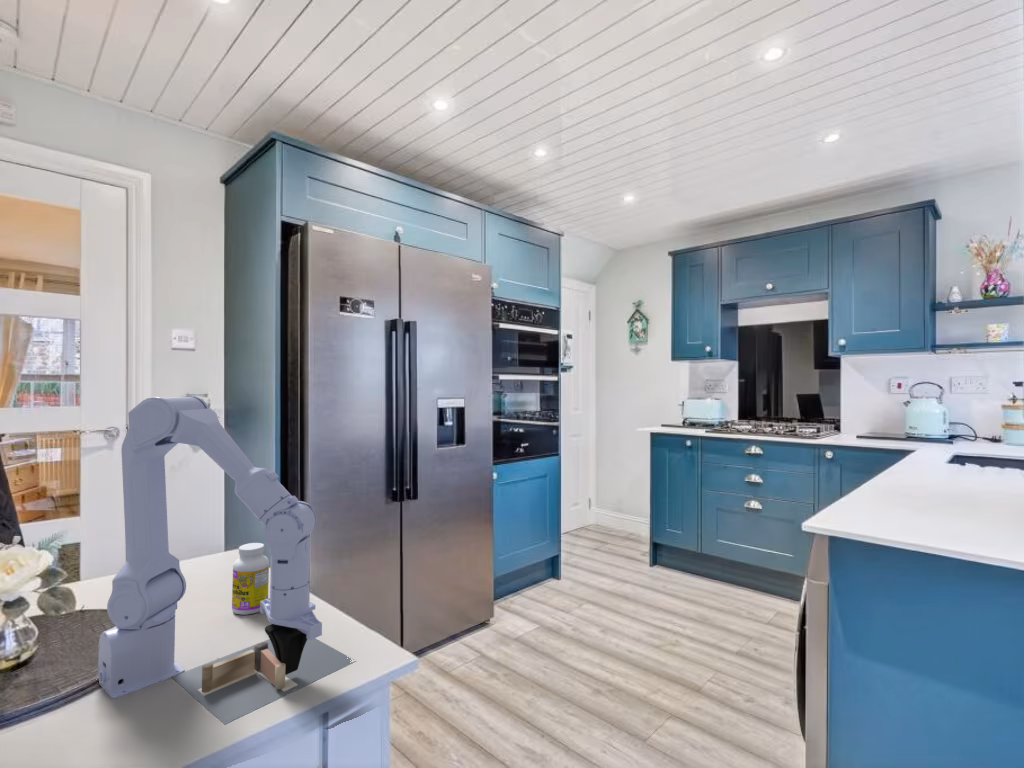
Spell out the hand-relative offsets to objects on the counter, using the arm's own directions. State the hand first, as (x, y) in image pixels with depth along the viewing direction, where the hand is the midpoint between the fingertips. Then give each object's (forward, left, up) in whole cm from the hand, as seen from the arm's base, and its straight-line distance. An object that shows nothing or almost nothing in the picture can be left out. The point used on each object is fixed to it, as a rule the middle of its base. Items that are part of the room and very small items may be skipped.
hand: (288, 670), depth 82 cm
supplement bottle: (+9, +30, -2) cm, 32 cm away
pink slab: (-2, +1, -1) cm, 2 cm away
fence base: (-5, +6, -1) cm, 8 cm away
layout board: (-1, +5, -2) cm, 5 cm away
